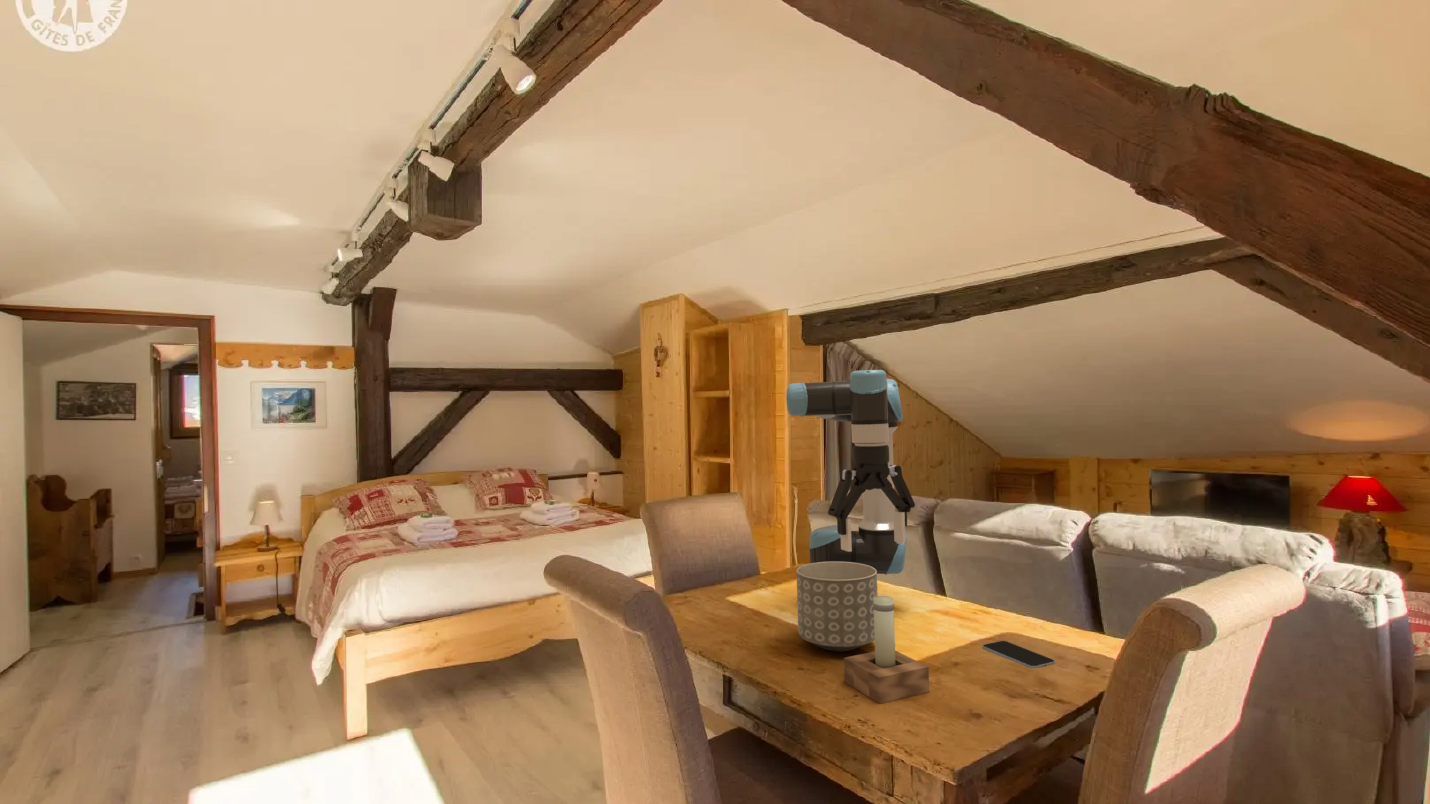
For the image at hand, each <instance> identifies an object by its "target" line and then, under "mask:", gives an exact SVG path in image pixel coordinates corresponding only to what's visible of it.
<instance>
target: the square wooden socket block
mask: <svg viewBox="0 0 1430 804" xmlns="http://www.w3.org/2000/svg"><path fill="white" fill-rule="evenodd" d="M895 661H896V666H893V667H888V668H883V669H882V668H881V667H879V666H877V665H875V651H872V652H871V651H870V652H865V653H860V654H856V655H852V656H847V657H843V673H844V677H843V678H844V683H846V684H847V685H849V686H850V687H852V688H853V689H855V690H857V691H859V692H861V693H862V694H864V695H865V696H867V697H869V698H870V699H871V700H873V701H874V702H876V703H878V704H885V703H888V702H892V701H896V700H901V699H905V698H909V697H913V696H917V695H918V696H919V695H922V694H926V693H930V673H929V672H930V669H929V666H928V665H926V664H924V663H922V662H920V661H918V660H915V659H914V658H911V657H909V656H907V655H905V654H903V653H902V652H899V651H897V650H895Z"/></svg>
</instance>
